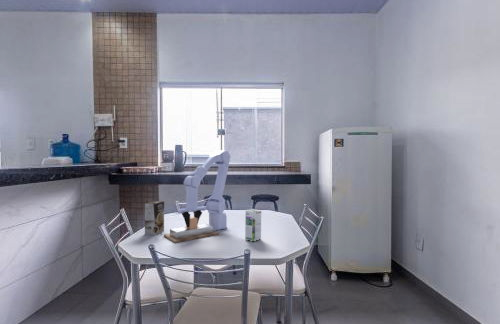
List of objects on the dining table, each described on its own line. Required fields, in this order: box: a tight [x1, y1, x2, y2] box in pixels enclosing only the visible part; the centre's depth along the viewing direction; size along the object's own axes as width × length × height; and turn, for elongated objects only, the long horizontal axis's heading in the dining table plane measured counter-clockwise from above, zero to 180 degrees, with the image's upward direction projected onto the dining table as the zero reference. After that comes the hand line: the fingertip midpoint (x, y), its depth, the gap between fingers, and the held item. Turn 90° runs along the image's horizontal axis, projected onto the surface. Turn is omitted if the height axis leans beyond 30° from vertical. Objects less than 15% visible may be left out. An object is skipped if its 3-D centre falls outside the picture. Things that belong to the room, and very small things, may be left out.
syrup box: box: [244, 208, 262, 242], centre depth 135 cm, size 6×6×14 cm
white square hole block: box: [169, 223, 213, 239], centre depth 142 cm, size 20×8×3 cm, turn 128°
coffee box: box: [144, 200, 165, 236], centre depth 147 cm, size 9×6×16 cm
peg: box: [187, 216, 199, 230], centre depth 142 cm, size 4×4×6 cm
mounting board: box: [163, 230, 220, 244], centre depth 142 cm, size 24×14×1 cm, turn 128°
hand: (191, 226), depth 142 cm, fingers closed on peg, 4 cm apart
